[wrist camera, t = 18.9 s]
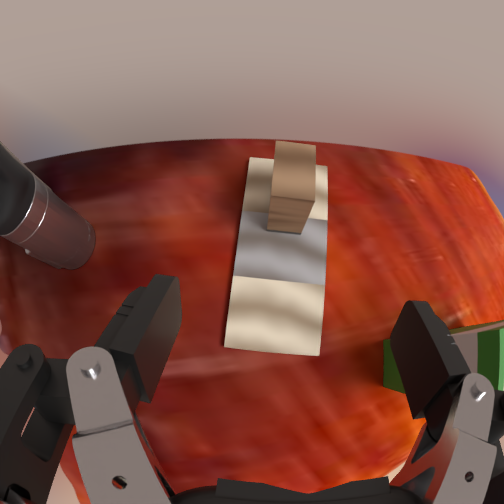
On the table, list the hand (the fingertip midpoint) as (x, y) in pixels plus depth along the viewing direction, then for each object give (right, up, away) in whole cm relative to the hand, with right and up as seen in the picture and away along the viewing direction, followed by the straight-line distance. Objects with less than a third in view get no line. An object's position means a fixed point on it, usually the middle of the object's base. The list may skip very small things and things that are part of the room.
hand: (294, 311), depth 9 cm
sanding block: (+4, +9, +33) cm, 35 cm away
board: (+3, +2, +33) cm, 33 cm away
